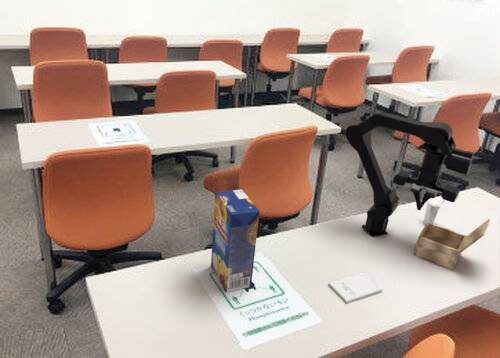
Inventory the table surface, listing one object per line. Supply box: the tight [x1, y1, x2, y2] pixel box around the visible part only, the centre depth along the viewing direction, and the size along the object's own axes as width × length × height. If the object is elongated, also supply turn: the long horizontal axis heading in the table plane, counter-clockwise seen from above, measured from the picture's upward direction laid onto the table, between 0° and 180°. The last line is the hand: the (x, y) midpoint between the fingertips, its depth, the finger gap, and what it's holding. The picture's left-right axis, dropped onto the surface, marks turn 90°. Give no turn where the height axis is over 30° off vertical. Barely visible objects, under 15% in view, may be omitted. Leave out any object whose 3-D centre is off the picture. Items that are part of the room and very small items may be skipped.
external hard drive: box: [327, 272, 383, 304], centre depth 128 cm, size 2×8×12 cm
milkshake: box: [423, 199, 446, 225], centre depth 162 cm, size 4×5×10 cm
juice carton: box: [210, 188, 260, 293], centre depth 123 cm, size 12×8×24 cm, turn 24°
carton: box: [413, 222, 468, 271], centre depth 145 cm, size 12×12×7 cm
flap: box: [460, 218, 491, 253], centre depth 138 cm, size 9×11×1 cm
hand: (419, 209), depth 145 cm, fingers closed
